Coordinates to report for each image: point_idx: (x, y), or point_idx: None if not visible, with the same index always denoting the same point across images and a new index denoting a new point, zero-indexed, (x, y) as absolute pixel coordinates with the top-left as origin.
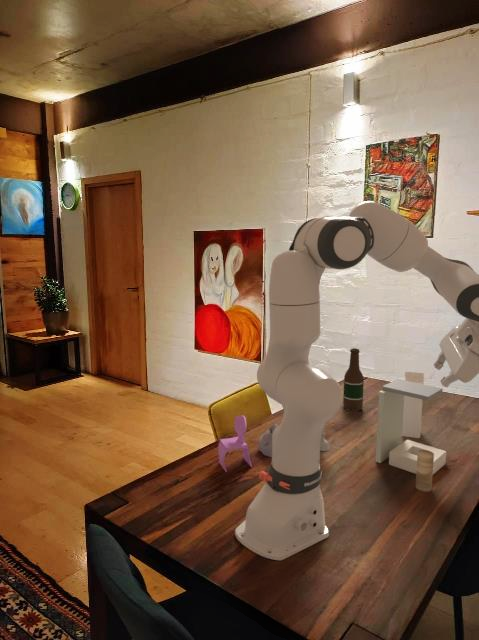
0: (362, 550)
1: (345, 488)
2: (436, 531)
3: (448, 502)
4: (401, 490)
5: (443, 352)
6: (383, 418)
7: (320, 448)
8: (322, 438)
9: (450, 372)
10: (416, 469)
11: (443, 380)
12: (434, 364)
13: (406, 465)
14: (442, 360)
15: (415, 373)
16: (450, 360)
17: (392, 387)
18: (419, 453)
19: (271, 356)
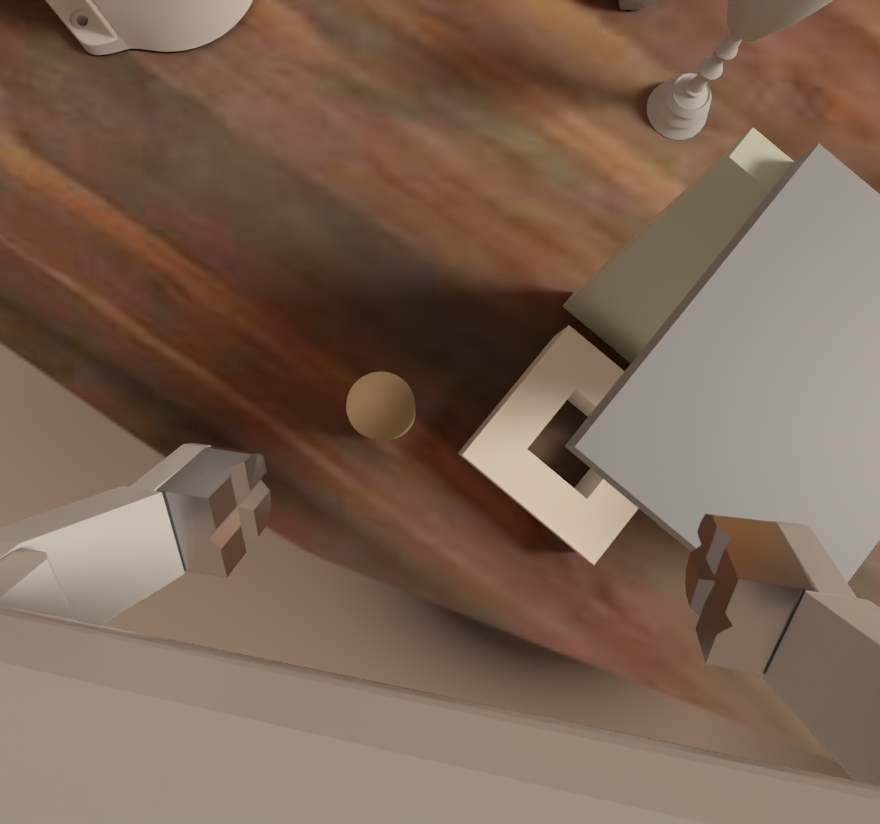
0: (34, 138)
1: (368, 148)
2: (133, 374)
3: (299, 467)
4: (367, 333)
5: (840, 798)
6: (645, 247)
7: (655, 95)
8: (692, 81)
9: (11, 574)
10: (489, 416)
11: (166, 465)
12: (771, 527)
13: (515, 385)
14: (827, 698)
15: None
16: (33, 724)
17: (794, 218)
18: (375, 375)
19: None
